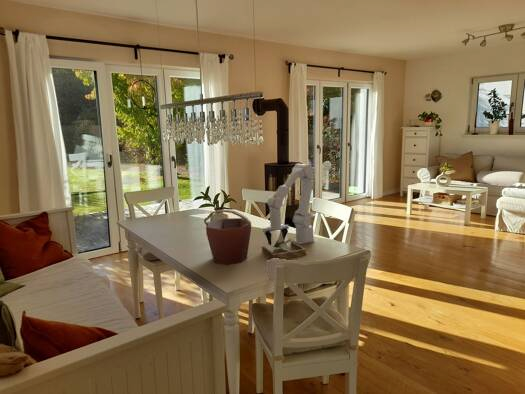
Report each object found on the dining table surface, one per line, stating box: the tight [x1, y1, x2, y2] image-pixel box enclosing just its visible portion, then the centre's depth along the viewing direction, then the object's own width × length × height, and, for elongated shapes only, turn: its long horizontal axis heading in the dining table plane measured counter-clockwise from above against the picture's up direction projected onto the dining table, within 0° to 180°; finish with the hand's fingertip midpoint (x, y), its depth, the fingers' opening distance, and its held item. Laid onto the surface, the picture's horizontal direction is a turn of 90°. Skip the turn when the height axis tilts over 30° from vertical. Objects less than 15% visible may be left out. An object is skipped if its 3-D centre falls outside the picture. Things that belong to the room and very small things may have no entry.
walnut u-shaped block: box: [261, 240, 307, 260], centre depth 194 cm, size 18×15×3 cm
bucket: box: [203, 209, 252, 266], centre depth 188 cm, size 24×22×25 cm
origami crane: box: [273, 230, 292, 252], centre depth 198 cm, size 11×10×10 cm
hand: (276, 243), depth 201 cm, fingers open, 7 cm apart
